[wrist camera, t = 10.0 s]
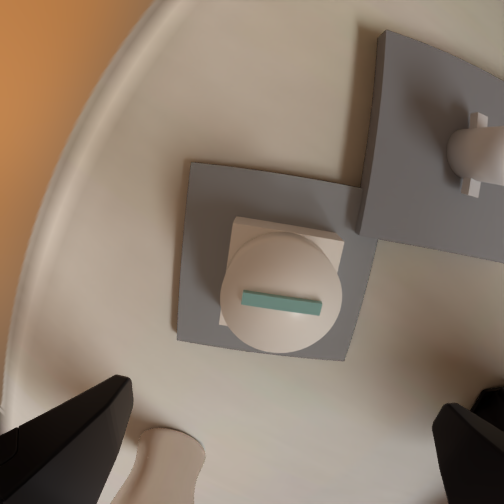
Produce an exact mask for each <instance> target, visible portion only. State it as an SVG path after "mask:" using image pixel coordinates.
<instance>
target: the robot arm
mask: <svg viewBox="0 0 504 504" xmlns="http://www.w3.org/2000/svg"><path fill="white" fill-rule="evenodd" d="M132 408H133V391H132V381H131V379H130V378H129V377H125V376H121V375H114V376H112V377H110V378H109V379H107V380H105V381H103V382H101V383H99V384H98V385H96V386H94V387H92V388H90V389H89V390H87V391H85V392H83V393H81V394H79V395H77V396H76V397H74V398H72V399H70V400H68V401H66V402H64V403H63V404H61V405H59V406H57V407H55V408H53V409H51V410H49V411H47V412H46V413H44V414H42V415H40V416H38V417H36V418H34V419H32V420H30V421H28V422H26V423H24V424H22V425H20V426H19V428H18V427H16V428H14V429H12V430H10V431H8V432H6V433H4V434H2V435H0V504H97V502H98V499H99V497H100V494H101V492H102V490H103V488H104V485H105V483H106V481H107V478H108V476H109V474H110V472H111V469H112V467H113V465H114V462H115V460H116V458H117V455H118V453H119V450H120V447H121V444H122V440H123V437H124V434H125V430H126V427H127V424H128V421H129V417H130V414H131V411H132ZM432 431H433V436H434V441H435V447H436V452H437V458H438V463H439V469H440V473H441V476H442V480H443V484H444V488H445V491H446V495H447V499H448V503H449V504H504V387H500V388H492V389H485V390H484V391H482V393H481V394H480V396H479V398H478V399H477V401H476V403H475V404H474V406H473V408H472V410H471V411H469V410H467V409H466V408H464V407H463V406H461V405H459V404H458V403H447V404H445V405H443V407H442V408H441V410H440V412H439V414H438V415H437V417H436V419H435V420H434V422H433V425H432Z"/></svg>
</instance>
